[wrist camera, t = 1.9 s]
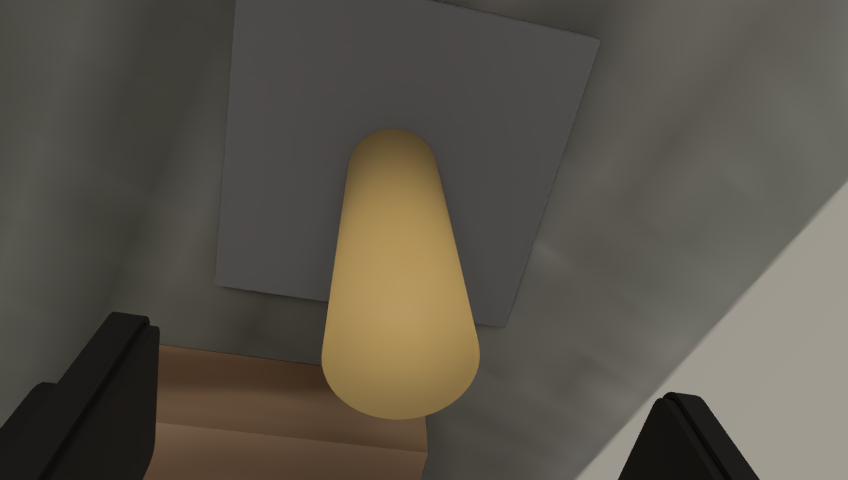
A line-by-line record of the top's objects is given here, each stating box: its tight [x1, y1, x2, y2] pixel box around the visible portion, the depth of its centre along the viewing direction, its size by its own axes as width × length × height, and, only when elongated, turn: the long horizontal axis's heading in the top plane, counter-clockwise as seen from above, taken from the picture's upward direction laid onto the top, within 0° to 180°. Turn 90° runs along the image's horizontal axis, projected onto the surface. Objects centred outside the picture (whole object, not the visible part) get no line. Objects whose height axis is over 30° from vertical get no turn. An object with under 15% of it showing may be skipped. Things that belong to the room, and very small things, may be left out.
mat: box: [214, 0, 601, 328], centre depth 21 cm, size 11×11×1 cm
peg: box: [322, 129, 480, 420], centre depth 16 cm, size 3×3×10 cm
